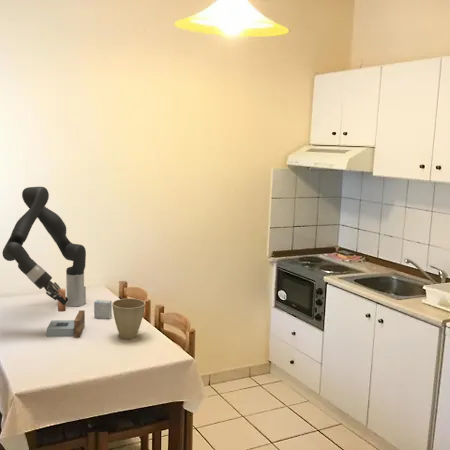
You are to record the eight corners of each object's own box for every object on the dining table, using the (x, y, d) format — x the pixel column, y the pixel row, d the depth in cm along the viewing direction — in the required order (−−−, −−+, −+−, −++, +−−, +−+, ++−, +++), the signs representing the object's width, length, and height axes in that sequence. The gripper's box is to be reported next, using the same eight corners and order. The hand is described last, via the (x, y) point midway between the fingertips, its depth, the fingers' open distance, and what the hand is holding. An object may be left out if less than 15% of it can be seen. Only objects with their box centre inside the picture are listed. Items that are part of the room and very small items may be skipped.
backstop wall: (74, 337, 258) (74, 320, 256) (79, 326, 272) (79, 310, 271) (79, 337, 258) (79, 320, 257) (84, 326, 273) (84, 310, 271)
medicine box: (111, 316, 288) (111, 300, 287) (109, 319, 284) (109, 302, 283) (96, 315, 289) (96, 299, 288) (94, 318, 285) (93, 301, 283)
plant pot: (113, 343, 253) (113, 308, 250) (111, 331, 267) (111, 299, 264) (146, 340, 257) (147, 307, 254) (142, 329, 271) (143, 297, 268)
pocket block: (46, 337, 258) (46, 329, 257) (51, 328, 270) (51, 320, 269) (73, 337, 259) (73, 328, 259) (77, 328, 271) (77, 320, 271)
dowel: (63, 308, 265) (63, 288, 264) (67, 310, 263) (66, 289, 261) (56, 310, 263) (56, 289, 261) (60, 312, 260) (60, 291, 259)
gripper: (41, 274, 252) (69, 301, 255) (48, 267, 266) (74, 292, 269) (29, 286, 252) (57, 312, 256) (36, 278, 266) (63, 303, 269)
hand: (66, 302), depth 262 cm, fingers closed on dowel, 3 cm apart
